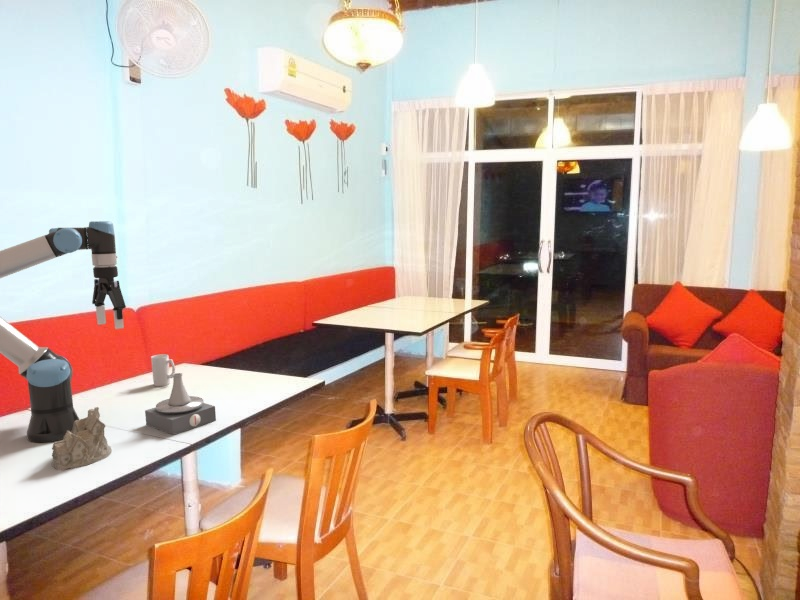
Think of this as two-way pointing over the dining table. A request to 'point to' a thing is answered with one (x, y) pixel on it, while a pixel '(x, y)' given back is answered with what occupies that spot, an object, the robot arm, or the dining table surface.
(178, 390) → the flask
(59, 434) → the robot arm
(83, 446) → the ceramic cottage
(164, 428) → the base
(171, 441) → the dining table surface
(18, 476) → the dining table surface
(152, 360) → the mug
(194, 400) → the scale pan
